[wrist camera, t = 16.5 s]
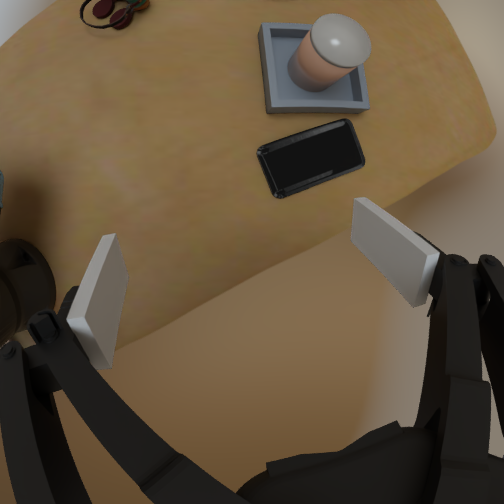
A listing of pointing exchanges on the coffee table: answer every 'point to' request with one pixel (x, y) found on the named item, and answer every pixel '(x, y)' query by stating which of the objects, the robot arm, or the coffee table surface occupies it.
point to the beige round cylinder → (328, 52)
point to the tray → (288, 93)
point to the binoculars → (120, 17)
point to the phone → (310, 157)
